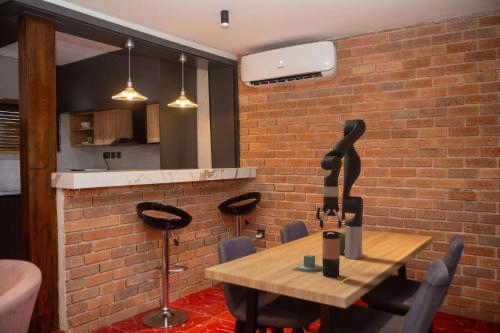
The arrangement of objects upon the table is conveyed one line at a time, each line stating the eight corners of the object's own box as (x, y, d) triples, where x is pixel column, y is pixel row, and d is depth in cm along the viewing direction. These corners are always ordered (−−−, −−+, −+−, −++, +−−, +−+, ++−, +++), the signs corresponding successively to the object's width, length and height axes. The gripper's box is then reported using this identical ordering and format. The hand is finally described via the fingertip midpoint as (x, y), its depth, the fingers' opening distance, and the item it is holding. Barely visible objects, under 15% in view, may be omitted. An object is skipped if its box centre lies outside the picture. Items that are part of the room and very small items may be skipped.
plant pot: (348, 256, 225) (348, 235, 225) (327, 255, 228) (327, 234, 228) (348, 251, 237) (348, 232, 237) (327, 250, 239) (327, 231, 239)
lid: (304, 264, 204) (304, 252, 204) (324, 267, 198) (324, 255, 198) (293, 269, 195) (293, 256, 195) (315, 272, 189) (315, 259, 188)
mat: (304, 264, 206) (304, 263, 206) (327, 268, 199) (327, 266, 199) (290, 271, 193) (290, 269, 193) (314, 275, 186) (314, 273, 186)
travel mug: (337, 274, 188) (337, 230, 188) (341, 279, 180) (341, 233, 180) (320, 274, 187) (320, 231, 187) (324, 279, 180) (324, 233, 180)
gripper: (343, 196, 209) (342, 227, 208) (315, 195, 209) (315, 227, 208) (346, 196, 202) (346, 229, 201) (318, 195, 202) (317, 228, 201)
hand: (330, 228), depth 205 cm, fingers open, 8 cm apart
